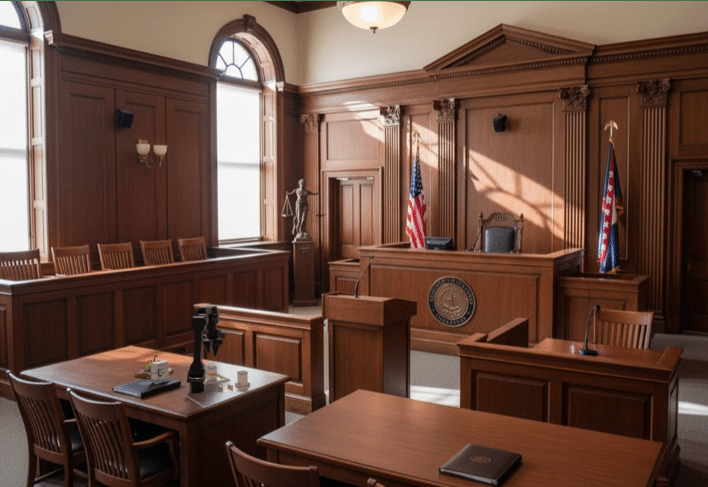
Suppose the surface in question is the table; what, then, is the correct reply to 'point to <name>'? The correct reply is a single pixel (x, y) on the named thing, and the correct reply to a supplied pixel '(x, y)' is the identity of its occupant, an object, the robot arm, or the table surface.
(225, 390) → the block
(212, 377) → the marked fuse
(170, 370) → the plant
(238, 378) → the plain fuse
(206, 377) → the tray
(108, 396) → the table surface
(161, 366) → the ink box
